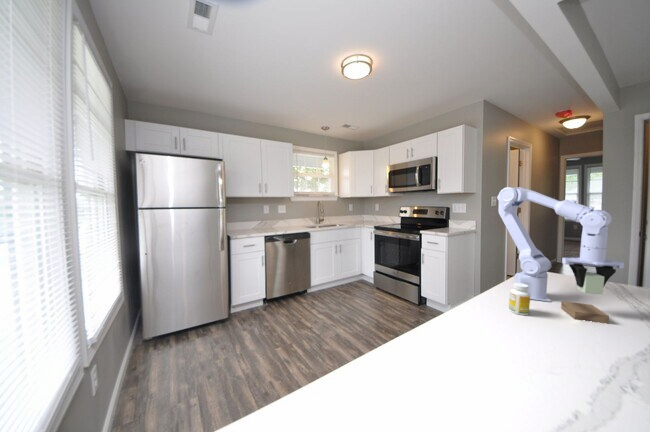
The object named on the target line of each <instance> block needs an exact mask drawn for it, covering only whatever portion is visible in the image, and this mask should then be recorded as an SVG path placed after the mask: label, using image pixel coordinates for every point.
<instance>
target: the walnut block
mask: <svg viewBox="0 0 650 432" xmlns="http://www.w3.org/2000/svg"><path fill="white" fill-rule="evenodd" d="M560 308H561V310H562V311H563V312H564V313H566V314H567V315H569V316H570V318H573V320H575V321H576V320H577V321H583V320H585V322H590V321H592V322H591V323H598V322H599V324H605V323H606V325H609V319H610V315H608V314H607V313H605V312H604V311H602V310H601V309H599V308H597V307H596V306H594V305H593V304H589V303H581V302H572V301H563V300H562V301H561V304H560Z"/></svg>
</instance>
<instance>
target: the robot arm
mask: <svg viewBox="0 0 650 432" xmlns="http://www.w3.org/2000/svg"><path fill="white" fill-rule="evenodd" d="M496 199H497V201H498V209H497V210H498V214H499V216H500V218H501V220H502V222H503V223H504V225H505V227H506V230H507V231H508V233H509V235H510V237H511V239H512V241H513V243H514V244H515V246H516V248H517V249H518V251H519V254H518V259H519V262H520V269H521V270H522V272H516V273H515V275H514V282H513V283H523V284H526V285H528V290H527V291H528V292H529V293H530V300H535V301H541V302H543V301H544V302H550V303H551V302H552V299H550V298H549V297H547V290H548V277H549V275H548V272H549V271H550V269H551V268H552V263H551V261H550V259H548V257H546V256H545V255H544V254H543V252H542V251H541V250H540V249H538V248H537V247H536V245H535V244H534V242H533V241H532V239H531V237H530V235H529V233H528V231H527V230H526V227H524V225H523V223H522V221H521V219H520V218H519V216H518V214H517V211H518V208H519V207H520V205H522V204H523V203H524V202H527V201H528V202H532V203H535V204H537V205H541V206H544V207H546V208H550V209H553V210H554V212H555V214H556V215H559V216H560V217H563V218H566V219H568V220H571V221H573V222H575V223H580V224H581V226H582V230H581V231H582V232H581V238H580V239H581V240H580V249H579V257H562V260H561V263H562V264H563V265H566V266H567V265H568V266H569V268H570V270H571V271H572V273H573V275H574V278H575V282H576V286H577V285H578V286H579V287H583V286H584V277H585V274H586V272H588V268H586V267H587V266H588V267H589V266H590V267H595V273H597V274H599V275H601V276H604V287H605V286H606V284H607V282H608V280H609V279H610V278H611V277H612V276H613V275H614V274H616V272H617V269H624V268H625V263H624V262H622V261H620V260H619V261H618V260H608V259H606V258H607V257H606V255H607V247H608V245H607V244H608V237H609V236H608V235H609V234H608V231H609V225H610V224H611V223H612V221H613V219H612V215H611V214H610V213H608V212H607V211H605V210H603V209H595V207H593V206H591V205H590V206H586V205H584V204H581V203H578V200H575V199H570V200H569V199H565V200H561V201H560V200H558V199H555V198H552V197H550V196H547V195H546V194H542V193H540V192H537V191H535V190H531V189H527V188H524V187H520V186H519V187H510V186H507V187H504V188H503V189H501V190H500V191H499V193H498V195H497V197H496ZM585 266H586V267H585ZM604 287H603V289H604Z"/></svg>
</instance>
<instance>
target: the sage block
mask: <svg viewBox="0 0 650 432" xmlns="http://www.w3.org/2000/svg"><path fill="white" fill-rule="evenodd" d="M603 287H605V286H604V276H601V275H599V274H597V273H596V272H590V271H586V274H585V277H584V286H583V287H579V286H578V285H577V284H576V289H577V290H579V291H580V292H582V293H584V294H590V295H601V296H602V295H603V296H604V288H603Z"/></svg>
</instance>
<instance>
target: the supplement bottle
mask: <svg viewBox="0 0 650 432" xmlns="http://www.w3.org/2000/svg"><path fill="white" fill-rule="evenodd" d="M512 287H513V288H510V290H509V303H508V310H509V311H510V312H511V313H513V314H515V315H518V316H519V315H520V316H528V315H529V313H530V306H531V305H530V304H531V299H530V293H529V292H528V291H527V290H528V285H526V284H523V283H514V282H513V283H512Z"/></svg>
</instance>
